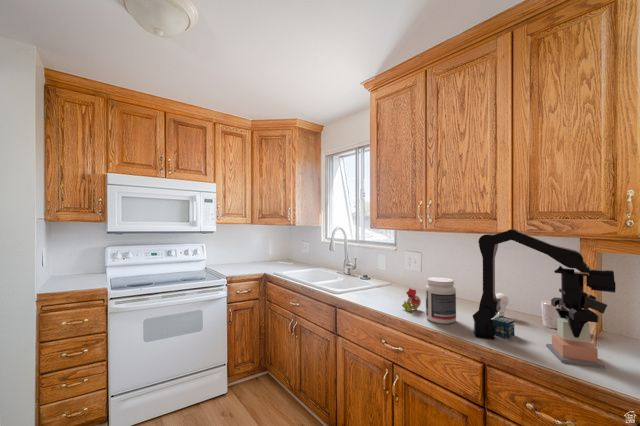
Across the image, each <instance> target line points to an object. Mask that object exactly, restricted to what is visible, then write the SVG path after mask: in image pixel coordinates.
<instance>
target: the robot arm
mask: <svg viewBox="0 0 640 426" xmlns="http://www.w3.org/2000/svg"><path fill="white" fill-rule="evenodd" d="M509 241H513V242H516V243H518V244H521V245H523V246H525V247H528V248H530V249H533V250H535V251H538V252H540V253H542V254H544V255H547V256H548V257H550V258H552V259H553V260H555V261H556V262H558V263H560V264H561V265H563V266H565V267H566V268H565V267H563V266H561V265H559V266H558V268H556V269H554V270H553V273H554V274H560V276H561V277H560V278H561V280H560V281H561V283H560V284H561V287H560V288H558V291H559V292H560V293H561V297H555V296H554V297H553V298H551V299H550V301H551V305H552V306H554V307H556V306H557V305H558V308H555V309H556V311H557V312H558V314H559V316H560V318H567V320H568V323H569V325H570V328H571V331H572V333H573V335H574V337H576V338H579V336H580V333H581V331H582V328H583V326H584V324H585V323H599V320H600V319H599V318H600V317H599V315H598V314H597V313H595V312H594V311H596V312H599V313H600V314H604V313H605V311H606V310H607V307H608V304H606V303H604V302H602V301H600V300H597V297H596V296H595V295H593V294H590V293H587V292H585V289H584V288H585V287H584V284H585V282H584V276H585V277H586V278H585V280H586V287H588V288H590V291H596V292H605V293H616V284H617V283H616V281H615V273H614V270H610V269H606V270H605V269H603V270H602V269H594V268H593V269H592V268H591V267H590V265H588V264H587V263H586V262H585V261H584V256H583V255H582V253H581V252H580V251H578V250H576V249H571V248H567V247H562V246H558V245H555V244H551V243H549V242H546V241H544V240H542V239H539V238H537V237H533V236H531V235H528V234H526V233H524V232H520V231H519V230H518V229H513V228H511V229H508V230H506V231H502V232H498V233H496V234H491V233H489V234H483V235H481V236H480V237H479V239H478V247H479V251H480V253H481V256H482V257H481V258H482V295H481V298H480V301H479V306H478V310H477V311H476V312H475V313H474V314H472V319H473V330H472V333H473V334H474V337H475V338H479V339H480V338H481V339H490V340H495V336H496V335H495V325H494V324H493V321H492V319H494V318H496V317H497V315H498V314H497V313H498V312H499V310H500V309H501V307H500V301H501V299H497V298H496V295H495V294H496V255H497V251H498V248H499V244H502V243H506V242H509ZM575 270H577V271H575ZM591 309H592V310H591Z"/></svg>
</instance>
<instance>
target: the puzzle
mask: <svg viewBox="0 0 640 426" xmlns="http://www.w3.org/2000/svg"><path fill="white" fill-rule="evenodd" d="M492 321H493V324H494V325H495V336H497V337H500V338H503V339H506V340H507V339H508V340H509V339H511V338H512V337H514V336H515V333H516V332H515V320H514V319H510V318H505V317H504V316H502V317H500V316H495V317H493V318H492Z"/></svg>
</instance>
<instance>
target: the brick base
mask: <svg viewBox="0 0 640 426" xmlns="http://www.w3.org/2000/svg"><path fill="white" fill-rule="evenodd" d="M545 345H546V347H545V348H547V349H548V350H549V351H550V352H551V353H552V354H553V355H554V356H555V357H556V358H557V359H558V360H559V361H560V363H562V364H563V363H564V364H568V365H569V364H570V365H578V366H585V367H593V368H598V369H599V368H600V369H606V364H604V362H602V360H599V359H598V356H599V355H598V353H599V352H598V348H597V347H596V346H594V345H593V344H592V343H590V342H586V341H577V340H568V339H563V338H562V337H560V336H559V335H558V334H557V335H556V334H551V343H546V344H545Z"/></svg>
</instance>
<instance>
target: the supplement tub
mask: <svg viewBox="0 0 640 426" xmlns="http://www.w3.org/2000/svg"><path fill="white" fill-rule="evenodd" d="M426 283H427V285H426V286H425V317H426V318H427V320H428V321H430V322H433V323H436V324H443V325H446V324H448V325H449V324H452V323H455V322H456V321H457V296H456V295H457V290H456V287H454V285H455V280H454V279H452V278H447V277H442V276H441V277H440V276H439V277H438V276H437V277H436V276H435V277H433V276H432V277H427V279H426Z"/></svg>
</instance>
